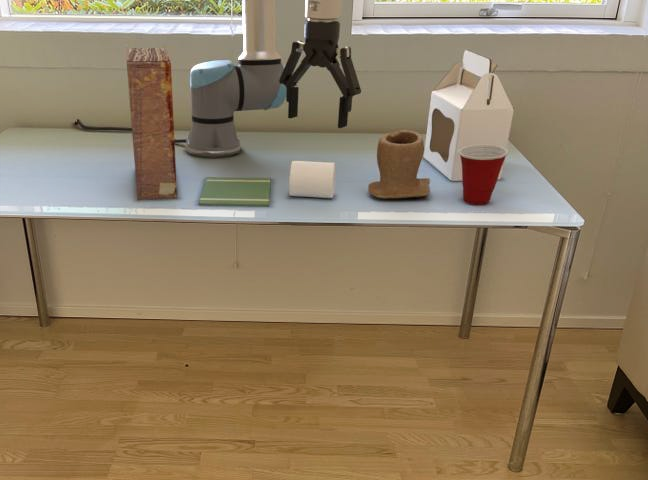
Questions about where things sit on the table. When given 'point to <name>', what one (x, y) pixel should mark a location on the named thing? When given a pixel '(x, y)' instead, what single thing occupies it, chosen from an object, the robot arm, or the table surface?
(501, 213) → the table surface
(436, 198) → the table surface
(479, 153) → the plastic cup
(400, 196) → the stone cup
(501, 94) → the gable box
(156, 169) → the book
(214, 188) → the cloth
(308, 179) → the mug
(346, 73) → the robot arm
